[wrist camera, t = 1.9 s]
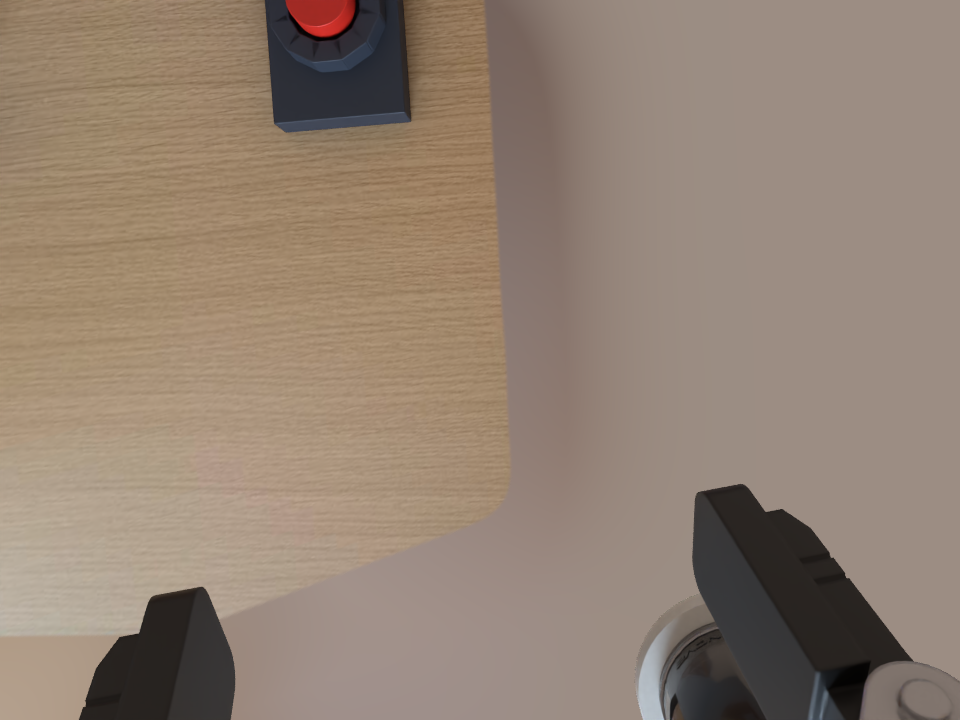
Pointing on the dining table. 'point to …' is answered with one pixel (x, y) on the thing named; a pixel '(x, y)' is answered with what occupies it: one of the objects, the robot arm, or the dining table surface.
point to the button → (322, 15)
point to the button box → (339, 69)
